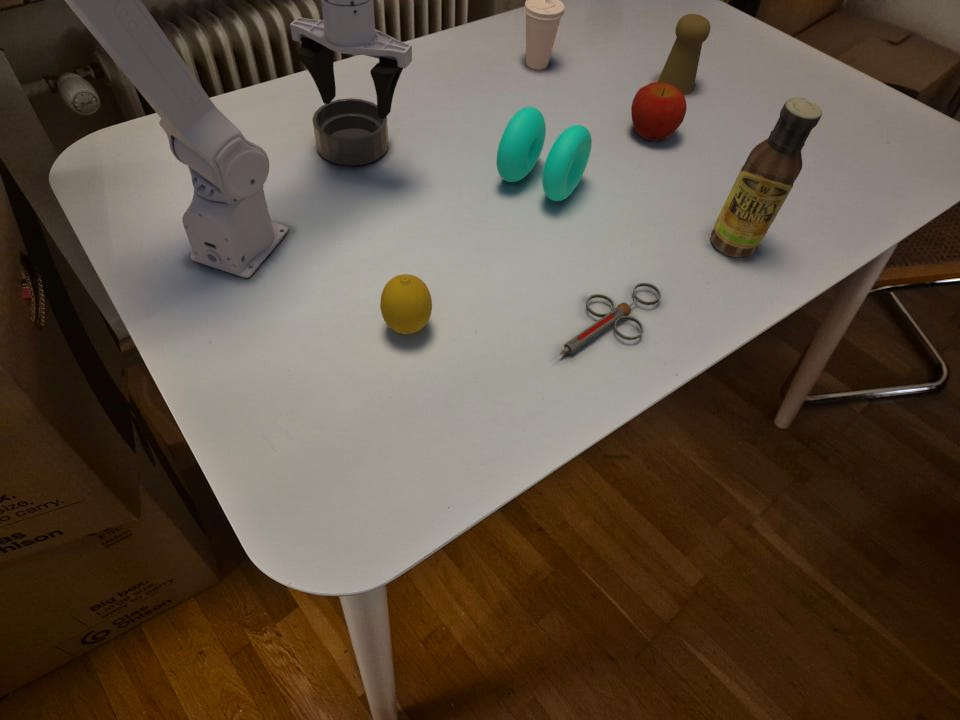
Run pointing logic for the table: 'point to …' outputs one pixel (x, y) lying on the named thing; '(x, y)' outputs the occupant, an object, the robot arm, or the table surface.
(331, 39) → the robot arm
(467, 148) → the table surface
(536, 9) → the smoothie
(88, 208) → the table surface
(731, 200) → the sauce bottle
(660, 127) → the apple
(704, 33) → the pawn
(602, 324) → the syringe
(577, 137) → the donuts
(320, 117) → the bowl
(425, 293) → the lemon
